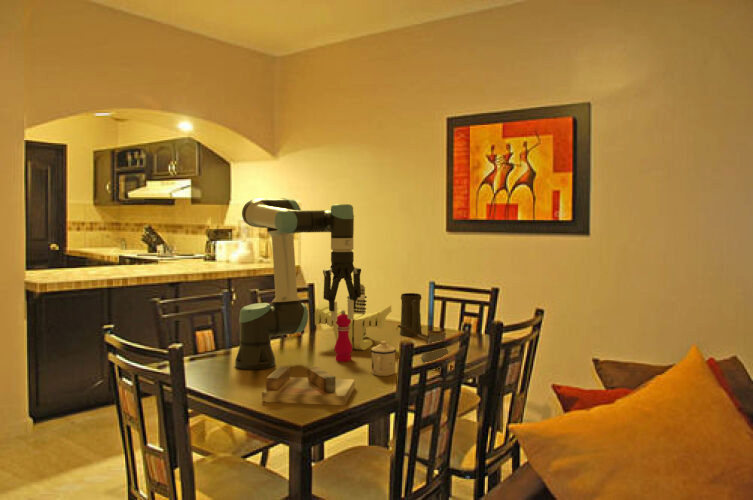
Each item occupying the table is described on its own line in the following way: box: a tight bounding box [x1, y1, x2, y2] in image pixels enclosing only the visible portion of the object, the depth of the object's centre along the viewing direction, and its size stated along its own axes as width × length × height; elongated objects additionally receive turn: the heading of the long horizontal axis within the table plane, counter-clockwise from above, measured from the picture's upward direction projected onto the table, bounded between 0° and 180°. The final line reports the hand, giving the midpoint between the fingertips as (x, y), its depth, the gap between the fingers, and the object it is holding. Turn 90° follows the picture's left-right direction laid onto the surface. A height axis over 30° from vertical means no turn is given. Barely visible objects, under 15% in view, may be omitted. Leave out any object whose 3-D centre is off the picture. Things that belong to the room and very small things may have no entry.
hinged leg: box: [307, 366, 336, 393], centre depth 190 cm, size 16×4×4 cm, turn 27°
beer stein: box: [399, 292, 423, 337], centre depth 285 cm, size 15×11×20 cm
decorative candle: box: [346, 283, 368, 339], centre depth 281 cm, size 9×9×25 cm
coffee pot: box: [396, 324, 450, 364], centre depth 230 cm, size 21×12×15 cm, turn 75°
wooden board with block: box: [261, 366, 356, 406], centre depth 191 cm, size 26×18×7 cm
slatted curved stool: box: [314, 302, 392, 351], centre depth 260 cm, size 30×16×18 cm, turn 74°
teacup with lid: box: [370, 340, 397, 377], centre depth 216 cm, size 12×9×12 cm
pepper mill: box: [334, 309, 353, 363], centre depth 237 cm, size 7×7×20 cm
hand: (342, 319), depth 198 cm, fingers open, 6 cm apart
